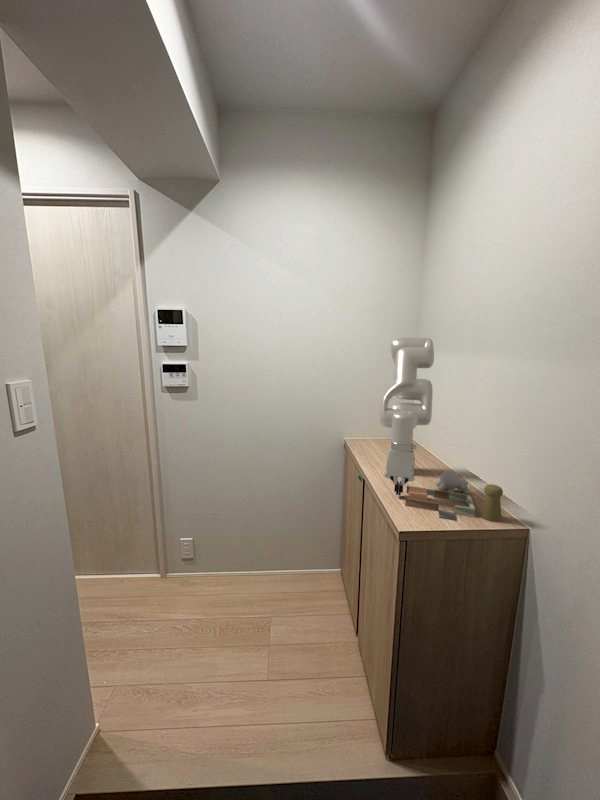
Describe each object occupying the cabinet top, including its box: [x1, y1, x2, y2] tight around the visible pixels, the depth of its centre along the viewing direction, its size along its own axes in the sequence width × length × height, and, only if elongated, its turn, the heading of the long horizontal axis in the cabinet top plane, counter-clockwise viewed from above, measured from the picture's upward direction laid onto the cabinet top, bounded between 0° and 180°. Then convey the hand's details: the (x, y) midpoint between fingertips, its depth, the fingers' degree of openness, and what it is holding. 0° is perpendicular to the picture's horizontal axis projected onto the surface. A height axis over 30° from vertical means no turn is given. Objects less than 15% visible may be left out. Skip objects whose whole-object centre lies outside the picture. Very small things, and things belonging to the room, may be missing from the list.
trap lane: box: [404, 485, 476, 522], centre depth 117 cm, size 22×22×2 cm
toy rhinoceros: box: [435, 469, 472, 494], centre depth 126 cm, size 7×12×8 cm, turn 81°
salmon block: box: [407, 485, 428, 501], centre depth 119 cm, size 6×6×4 cm
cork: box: [479, 483, 504, 523], centre depth 107 cm, size 6×6×11 cm
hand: (398, 493), depth 122 cm, fingers closed
